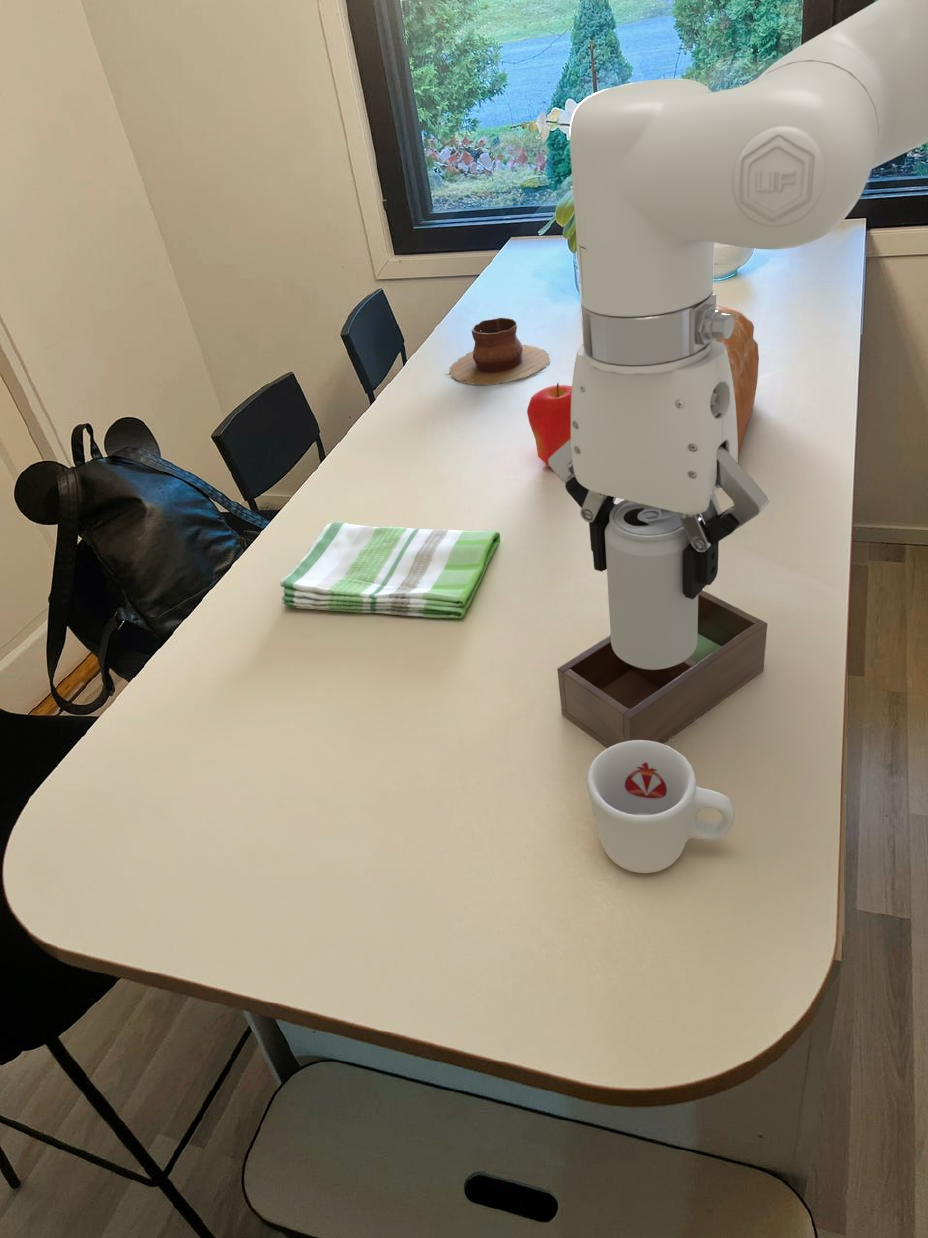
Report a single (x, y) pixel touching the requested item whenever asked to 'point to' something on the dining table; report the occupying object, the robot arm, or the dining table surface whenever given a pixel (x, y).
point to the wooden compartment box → (663, 679)
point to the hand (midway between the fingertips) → (652, 572)
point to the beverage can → (648, 587)
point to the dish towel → (390, 570)
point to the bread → (742, 366)
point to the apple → (550, 419)
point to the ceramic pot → (498, 355)
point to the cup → (650, 805)
